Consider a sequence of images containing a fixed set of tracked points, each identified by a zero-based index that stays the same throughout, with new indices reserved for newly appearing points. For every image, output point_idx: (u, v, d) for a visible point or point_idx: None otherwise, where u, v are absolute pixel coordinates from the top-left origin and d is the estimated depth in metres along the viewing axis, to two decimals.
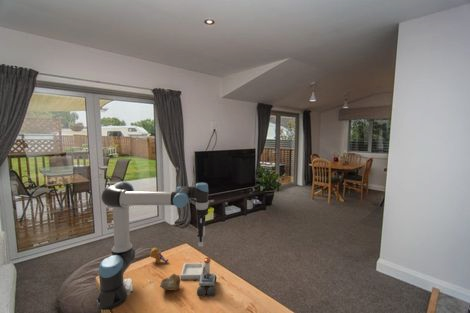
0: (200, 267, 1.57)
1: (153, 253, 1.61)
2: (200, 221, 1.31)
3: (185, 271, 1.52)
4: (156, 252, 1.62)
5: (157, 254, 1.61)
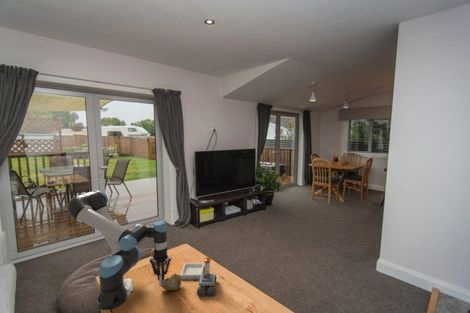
0: (200, 267, 1.57)
1: (153, 253, 1.62)
2: None
3: (185, 271, 1.52)
4: None
5: None
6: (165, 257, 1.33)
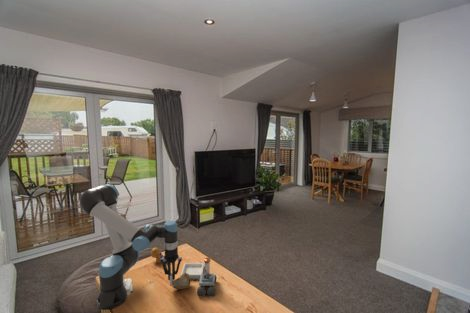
0: (200, 267, 1.57)
1: (154, 253, 1.62)
2: None
3: (185, 271, 1.52)
4: (157, 252, 1.62)
5: (157, 254, 1.61)
6: (176, 257, 1.33)
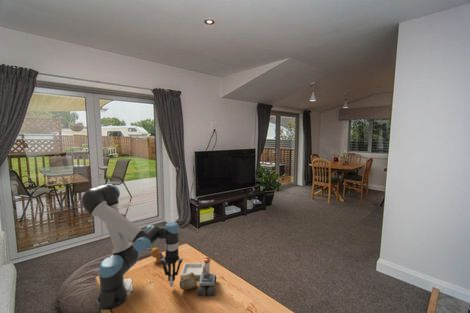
0: (200, 267, 1.57)
1: (154, 253, 1.62)
2: None
3: (185, 271, 1.52)
4: (157, 252, 1.62)
5: (158, 254, 1.61)
6: (176, 258, 1.33)
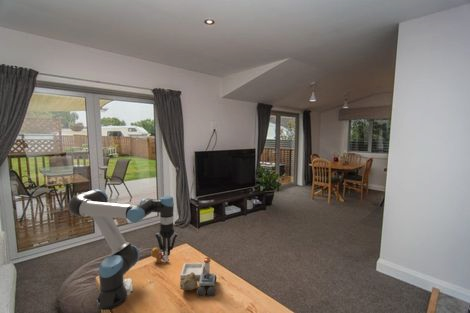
0: (200, 267, 1.57)
1: (154, 253, 1.62)
2: None
3: (185, 271, 1.52)
4: (157, 252, 1.62)
5: (158, 254, 1.62)
6: (171, 232, 1.31)
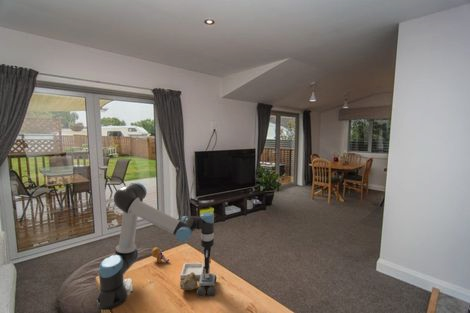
0: (200, 267, 1.57)
1: (154, 253, 1.62)
2: (206, 256, 1.28)
3: (185, 271, 1.52)
4: (157, 252, 1.62)
5: (158, 254, 1.62)
6: None
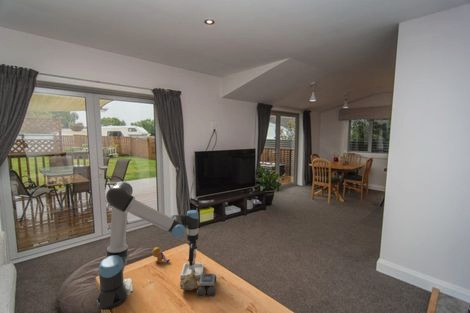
0: (200, 267, 1.57)
1: (155, 252, 1.62)
2: (190, 246, 1.43)
3: (185, 271, 1.52)
4: (158, 251, 1.63)
5: (158, 253, 1.62)
6: None
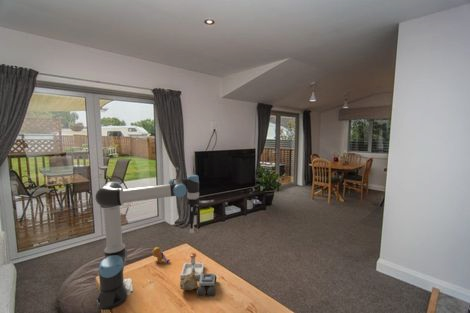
0: (200, 267, 1.57)
1: (155, 252, 1.62)
2: (191, 209, 1.43)
3: (185, 271, 1.52)
4: (158, 251, 1.63)
5: (159, 253, 1.62)
6: (195, 204, 1.53)
